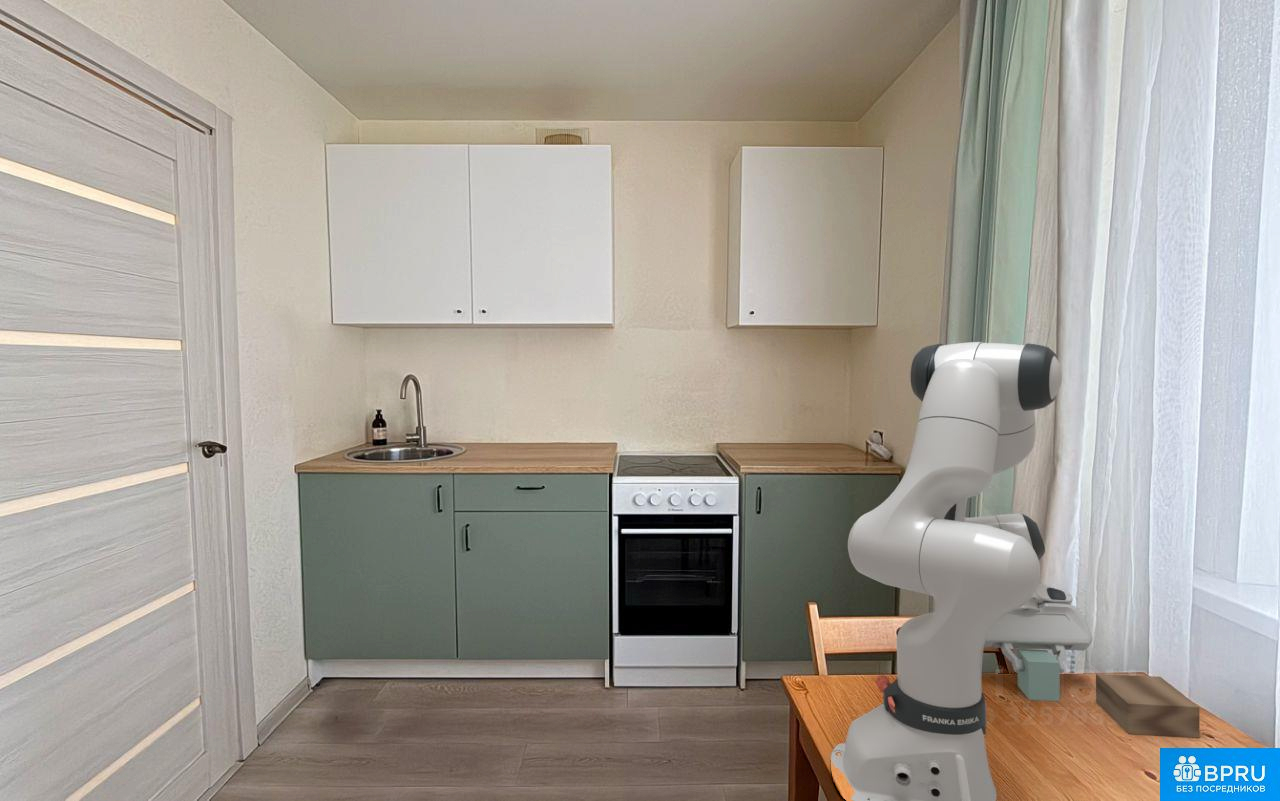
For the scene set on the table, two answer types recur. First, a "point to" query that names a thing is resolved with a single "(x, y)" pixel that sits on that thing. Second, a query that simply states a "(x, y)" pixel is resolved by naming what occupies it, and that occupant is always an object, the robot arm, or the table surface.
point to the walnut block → (1147, 705)
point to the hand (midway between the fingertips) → (1039, 671)
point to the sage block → (1039, 675)
